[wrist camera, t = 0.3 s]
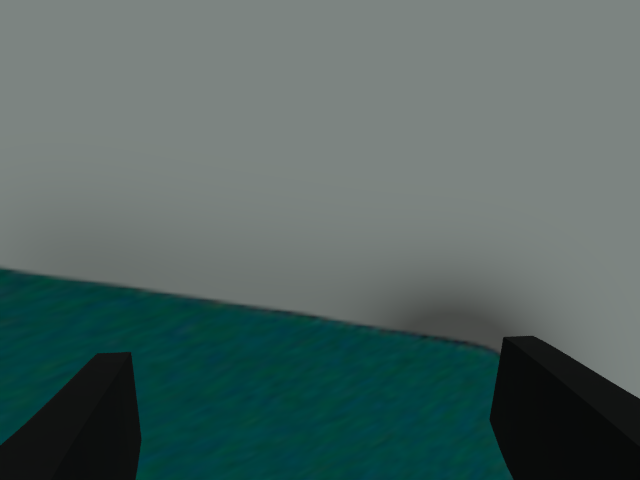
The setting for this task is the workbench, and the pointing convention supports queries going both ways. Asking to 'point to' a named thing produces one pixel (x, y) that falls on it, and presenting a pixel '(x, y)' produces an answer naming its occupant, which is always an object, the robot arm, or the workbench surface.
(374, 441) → the workbench surface
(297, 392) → the workbench surface
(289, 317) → the workbench surface
